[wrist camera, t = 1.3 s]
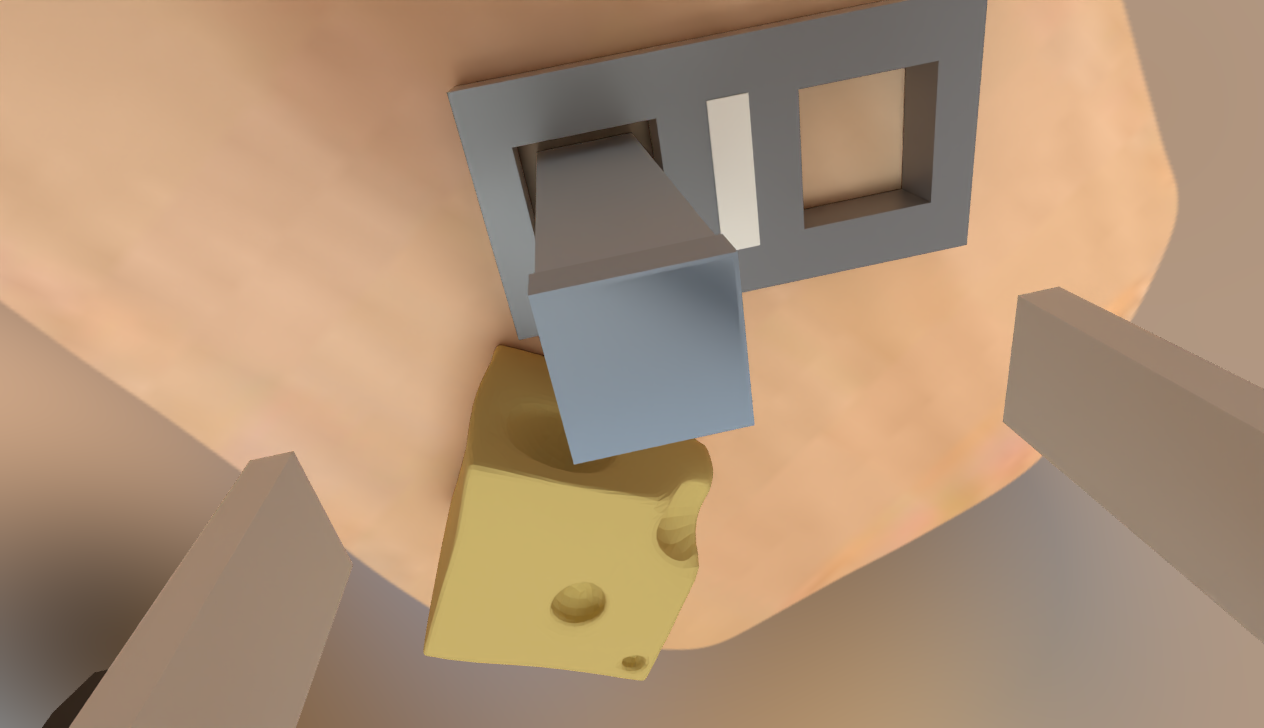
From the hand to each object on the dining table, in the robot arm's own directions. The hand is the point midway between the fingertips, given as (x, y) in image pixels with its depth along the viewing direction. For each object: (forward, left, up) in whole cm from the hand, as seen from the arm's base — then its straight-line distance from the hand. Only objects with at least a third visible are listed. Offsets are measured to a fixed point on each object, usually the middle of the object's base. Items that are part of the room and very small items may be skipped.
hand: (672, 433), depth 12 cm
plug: (0, 0, -18) cm, 18 cm away
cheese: (+12, -4, -19) cm, 23 cm away
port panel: (0, +5, -18) cm, 19 cm away
